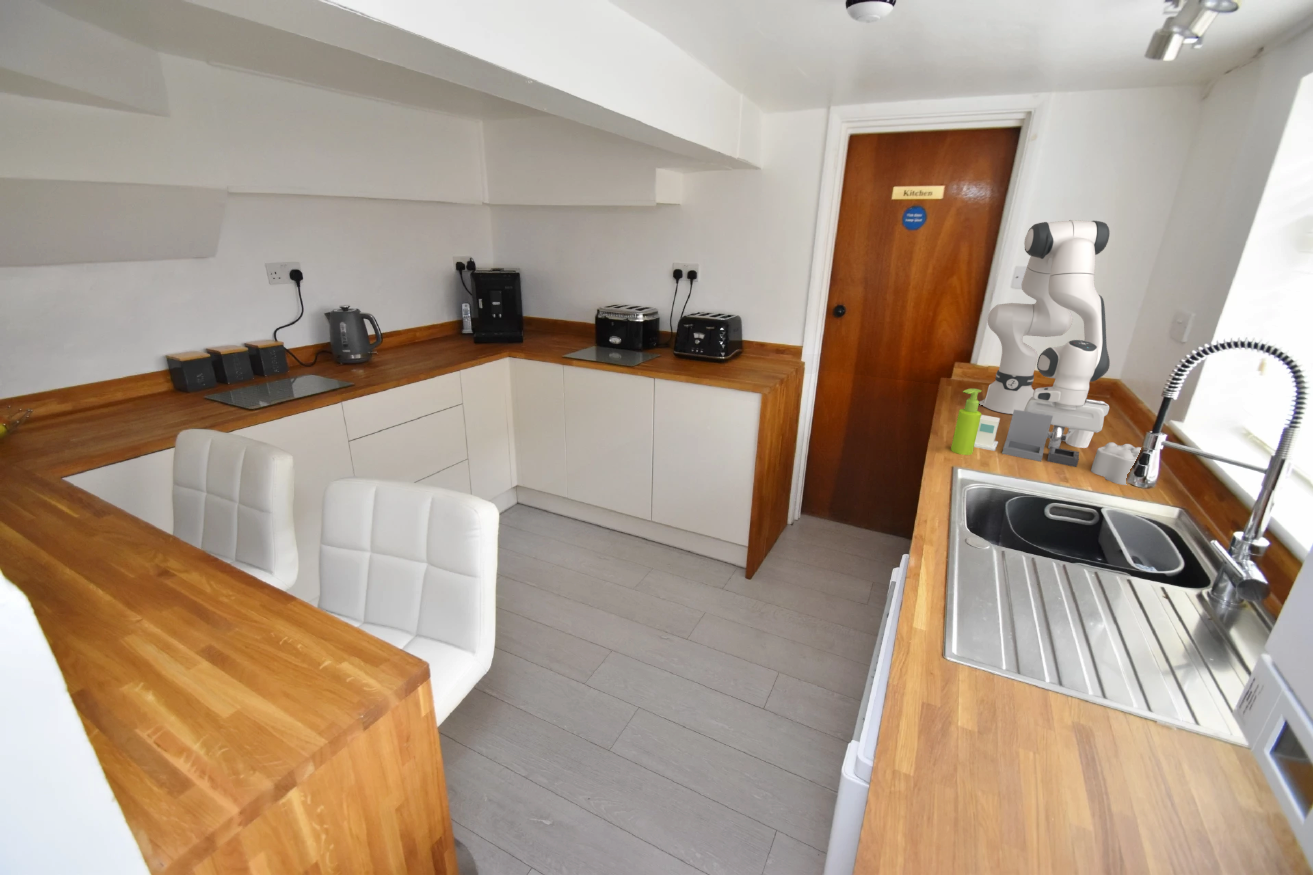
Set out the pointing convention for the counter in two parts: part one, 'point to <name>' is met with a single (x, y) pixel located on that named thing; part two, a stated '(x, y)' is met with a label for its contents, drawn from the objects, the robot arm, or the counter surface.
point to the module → (987, 430)
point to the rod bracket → (1063, 456)
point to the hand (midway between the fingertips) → (1055, 439)
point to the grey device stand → (1027, 435)
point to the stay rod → (1056, 436)
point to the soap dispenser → (967, 425)
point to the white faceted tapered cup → (1080, 438)
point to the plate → (987, 446)
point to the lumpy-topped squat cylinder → (1115, 461)
